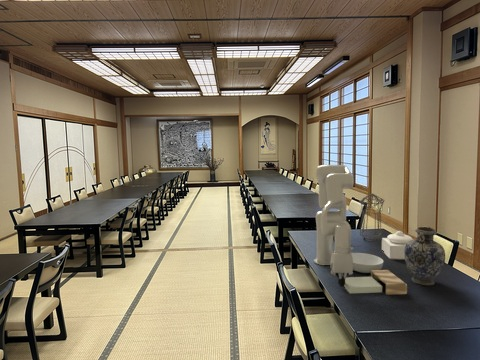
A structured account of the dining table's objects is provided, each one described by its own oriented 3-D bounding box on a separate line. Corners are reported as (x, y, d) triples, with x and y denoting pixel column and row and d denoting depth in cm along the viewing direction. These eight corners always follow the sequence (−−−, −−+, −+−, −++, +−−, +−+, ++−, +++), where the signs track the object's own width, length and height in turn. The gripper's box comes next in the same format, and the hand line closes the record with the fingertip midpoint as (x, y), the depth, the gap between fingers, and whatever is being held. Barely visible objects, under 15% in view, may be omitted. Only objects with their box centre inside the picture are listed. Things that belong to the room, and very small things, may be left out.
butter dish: (409, 251, 227) (410, 227, 225) (419, 260, 209) (421, 235, 208) (381, 250, 229) (382, 227, 227) (389, 259, 211) (391, 234, 210)
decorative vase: (408, 270, 192) (411, 222, 188) (446, 279, 180) (450, 227, 176) (397, 283, 175) (400, 230, 172) (438, 293, 163) (443, 236, 160)
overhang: (370, 280, 179) (371, 270, 179) (388, 279, 180) (389, 269, 179) (386, 294, 162) (387, 283, 162) (406, 294, 163) (407, 283, 162)
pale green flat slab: (340, 283, 176) (340, 277, 175) (370, 282, 177) (371, 276, 176) (349, 293, 164) (349, 287, 163) (382, 292, 165) (382, 286, 165)
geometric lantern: (383, 238, 256) (385, 192, 252) (379, 244, 243) (381, 196, 238) (361, 235, 265) (363, 191, 260) (356, 241, 251) (358, 194, 247)
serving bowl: (386, 278, 182) (387, 266, 181) (345, 275, 186) (346, 263, 185) (379, 265, 202) (379, 253, 201) (342, 262, 206) (342, 251, 205)
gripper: (354, 247, 172) (353, 282, 174) (325, 247, 171) (324, 283, 173) (360, 251, 164) (359, 288, 166) (329, 252, 164) (328, 289, 165)
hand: (341, 285), depth 170 cm, fingers closed
